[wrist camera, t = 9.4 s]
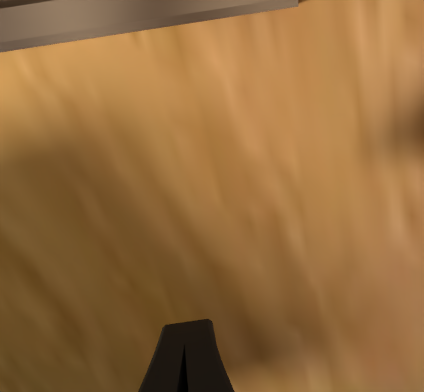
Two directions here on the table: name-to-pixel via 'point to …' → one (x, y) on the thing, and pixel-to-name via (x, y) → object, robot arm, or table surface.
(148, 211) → the table surface
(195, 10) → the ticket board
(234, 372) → the table surface
